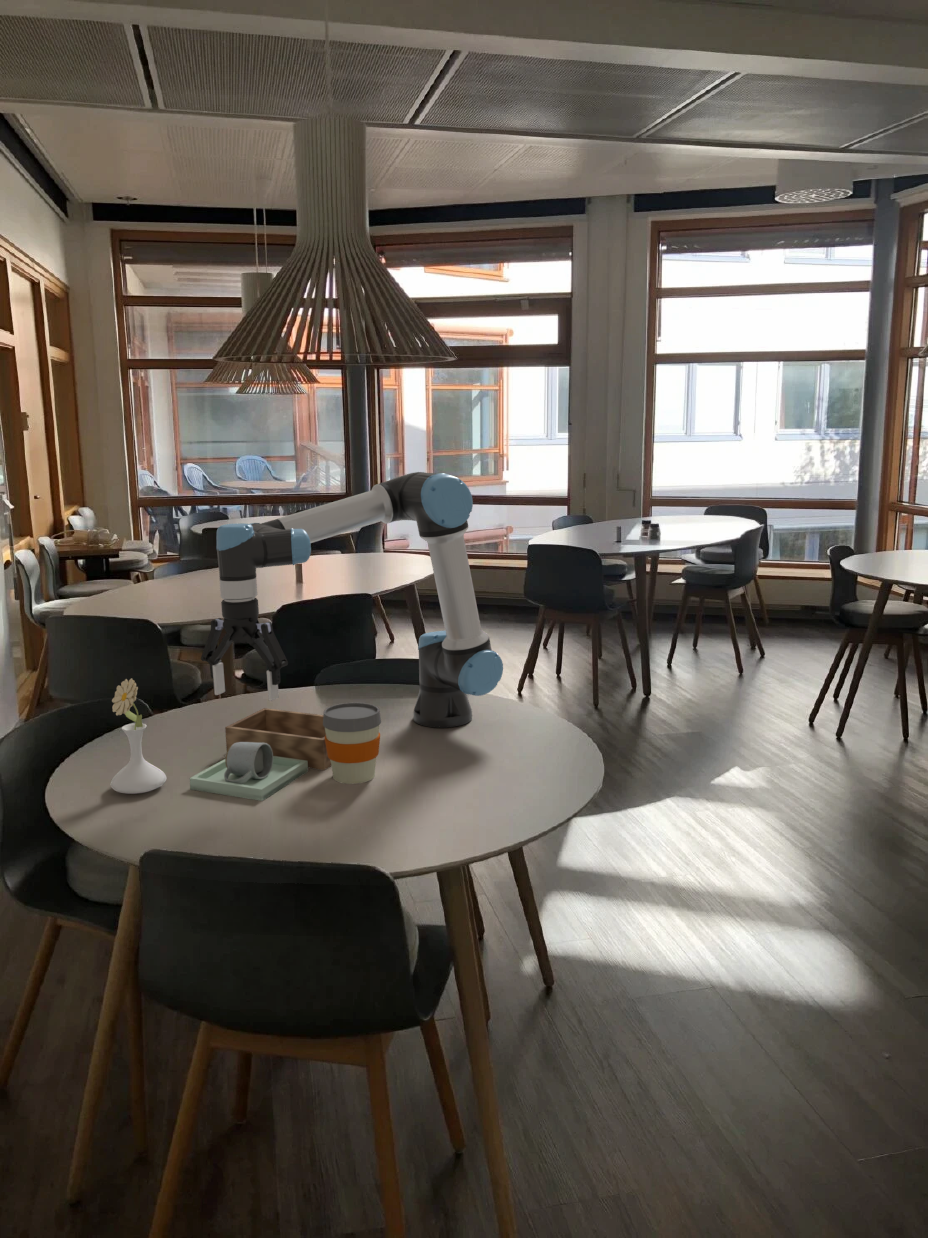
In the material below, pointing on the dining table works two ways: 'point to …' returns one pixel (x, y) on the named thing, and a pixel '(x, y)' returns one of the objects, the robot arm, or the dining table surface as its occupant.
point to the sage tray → (253, 788)
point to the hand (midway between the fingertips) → (246, 696)
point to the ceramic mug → (248, 761)
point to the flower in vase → (134, 747)
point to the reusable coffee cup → (352, 741)
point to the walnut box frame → (284, 735)
